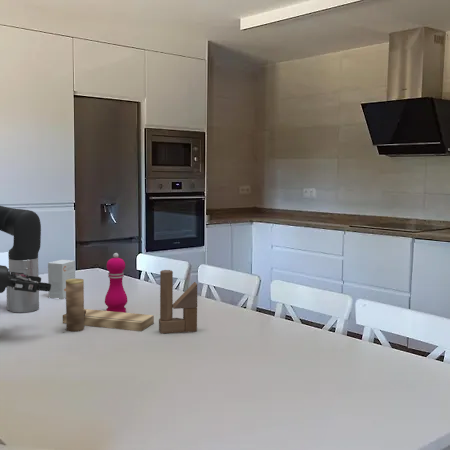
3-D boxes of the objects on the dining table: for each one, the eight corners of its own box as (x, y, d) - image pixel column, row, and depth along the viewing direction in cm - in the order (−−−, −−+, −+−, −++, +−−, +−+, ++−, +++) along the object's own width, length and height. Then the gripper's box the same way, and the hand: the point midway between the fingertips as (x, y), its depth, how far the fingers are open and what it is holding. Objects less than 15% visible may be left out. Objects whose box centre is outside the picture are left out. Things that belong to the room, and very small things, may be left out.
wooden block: (197, 331, 165) (197, 270, 163) (160, 334, 162) (160, 272, 160) (194, 328, 168) (195, 268, 166) (158, 330, 165) (158, 269, 164)
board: (62, 323, 172) (62, 314, 171) (78, 316, 180) (78, 308, 180) (141, 331, 164) (141, 322, 164) (153, 323, 173) (153, 314, 173)
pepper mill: (130, 311, 187) (129, 251, 185) (124, 317, 180) (123, 254, 178) (108, 310, 188) (108, 251, 186) (101, 316, 180) (101, 254, 178)
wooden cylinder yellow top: (63, 330, 164) (62, 281, 162) (77, 323, 171) (76, 276, 170) (78, 332, 162) (77, 282, 161) (92, 325, 170) (91, 277, 168)
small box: (61, 293, 212) (61, 259, 211) (76, 295, 210) (75, 260, 209) (47, 298, 205) (47, 262, 203) (62, 299, 202) (62, 263, 201)
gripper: (-23, 285, 158) (34, 291, 168) (-10, 297, 147) (50, 303, 156) (-17, 259, 158) (40, 266, 168) (-4, 269, 147) (56, 276, 156)
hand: (45, 284), depth 162 cm, fingers open, 8 cm apart
